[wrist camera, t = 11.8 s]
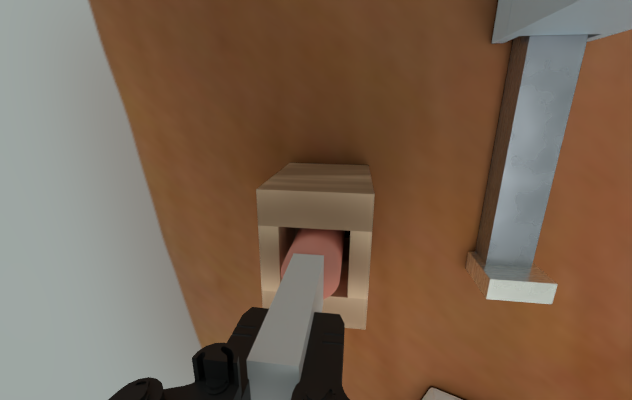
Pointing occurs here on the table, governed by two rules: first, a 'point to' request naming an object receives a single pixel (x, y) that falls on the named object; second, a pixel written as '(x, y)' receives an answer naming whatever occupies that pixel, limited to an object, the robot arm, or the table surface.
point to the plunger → (320, 253)
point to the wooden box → (319, 213)
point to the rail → (525, 167)
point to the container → (438, 395)
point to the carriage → (561, 18)
